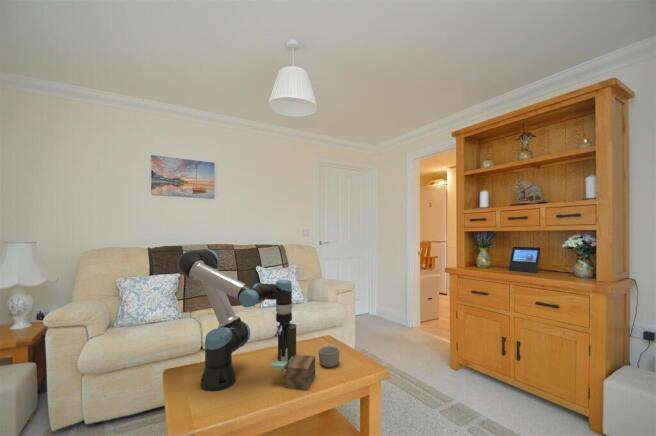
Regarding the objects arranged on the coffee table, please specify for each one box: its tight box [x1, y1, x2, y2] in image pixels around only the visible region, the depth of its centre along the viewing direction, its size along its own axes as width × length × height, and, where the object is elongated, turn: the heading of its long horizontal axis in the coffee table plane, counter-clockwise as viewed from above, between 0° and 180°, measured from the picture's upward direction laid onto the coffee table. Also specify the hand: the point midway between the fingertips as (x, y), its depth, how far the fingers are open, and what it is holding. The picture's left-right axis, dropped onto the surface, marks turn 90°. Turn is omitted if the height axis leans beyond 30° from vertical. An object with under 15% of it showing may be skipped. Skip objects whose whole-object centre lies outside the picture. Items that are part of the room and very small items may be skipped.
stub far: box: [279, 357, 293, 374], centre depth 151 cm, size 7×5×1 cm
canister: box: [277, 321, 297, 362], centre depth 173 cm, size 11×10×20 cm
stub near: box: [270, 360, 289, 370], centre depth 145 cm, size 7×5×1 cm
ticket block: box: [285, 354, 316, 391], centre depth 147 cm, size 10×14×9 cm
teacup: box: [318, 344, 340, 368], centre depth 166 cm, size 14×11×8 cm
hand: (284, 362), depth 152 cm, fingers closed
